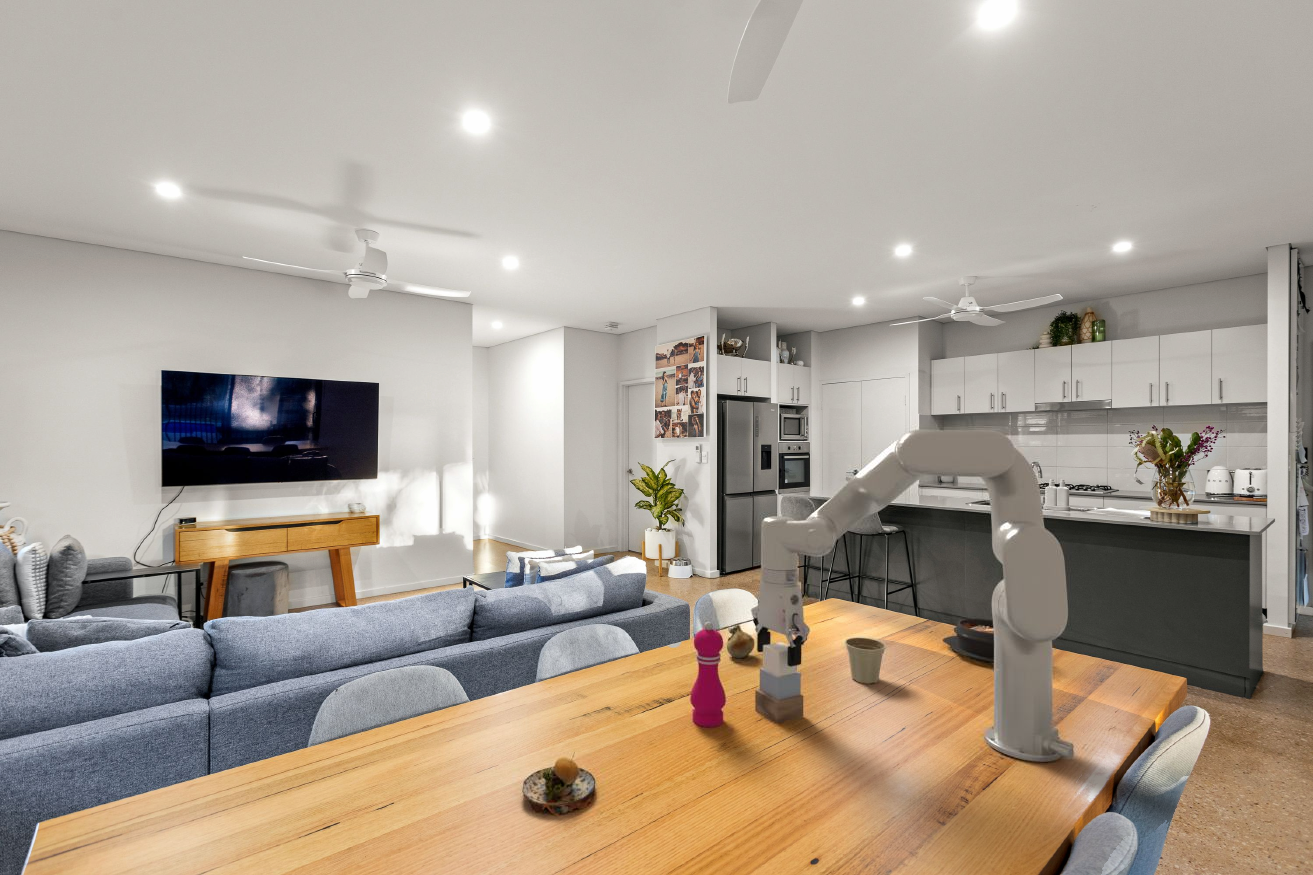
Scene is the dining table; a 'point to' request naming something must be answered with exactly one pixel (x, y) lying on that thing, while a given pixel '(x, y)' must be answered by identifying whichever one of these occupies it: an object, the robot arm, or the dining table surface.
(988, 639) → the casserole
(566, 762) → the small plate of food
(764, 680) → the slate block
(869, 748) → the dining table surface
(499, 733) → the dining table surface
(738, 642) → the onion
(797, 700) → the walnut block
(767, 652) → the cream block
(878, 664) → the flower pot
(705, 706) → the pepper mill
